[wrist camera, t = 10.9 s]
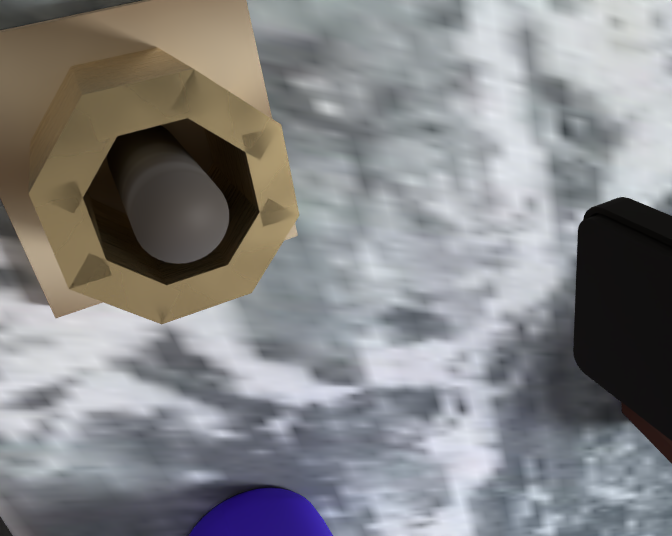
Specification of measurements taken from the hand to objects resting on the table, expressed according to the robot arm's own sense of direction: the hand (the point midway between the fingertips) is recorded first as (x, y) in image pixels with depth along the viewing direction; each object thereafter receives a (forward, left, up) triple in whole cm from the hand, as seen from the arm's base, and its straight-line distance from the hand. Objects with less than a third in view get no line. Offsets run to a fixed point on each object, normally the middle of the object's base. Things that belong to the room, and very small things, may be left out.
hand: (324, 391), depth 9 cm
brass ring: (0, 0, -16) cm, 16 cm away
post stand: (0, 0, -17) cm, 17 cm away
